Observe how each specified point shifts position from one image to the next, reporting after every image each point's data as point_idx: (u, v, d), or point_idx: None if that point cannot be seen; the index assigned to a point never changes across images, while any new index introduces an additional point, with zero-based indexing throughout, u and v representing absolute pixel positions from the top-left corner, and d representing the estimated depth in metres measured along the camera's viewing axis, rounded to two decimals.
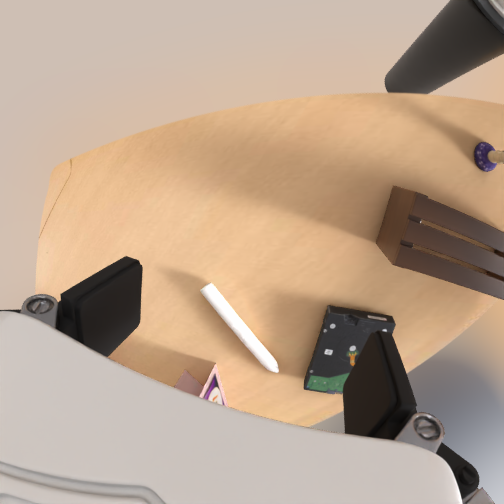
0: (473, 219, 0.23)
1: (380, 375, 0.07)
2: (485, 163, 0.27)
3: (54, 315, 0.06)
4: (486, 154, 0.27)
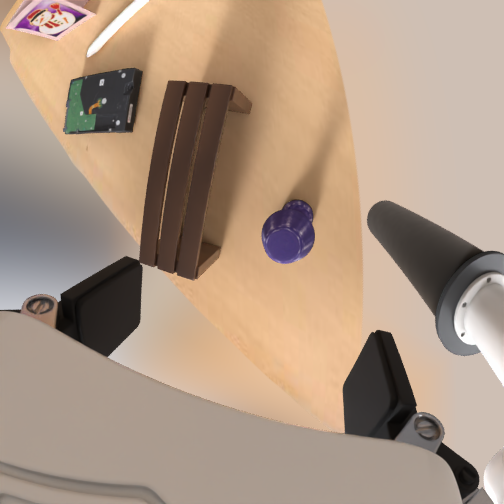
0: (215, 156, 0.28)
1: (380, 375, 0.07)
2: None
3: (54, 315, 0.06)
4: (298, 210, 0.35)
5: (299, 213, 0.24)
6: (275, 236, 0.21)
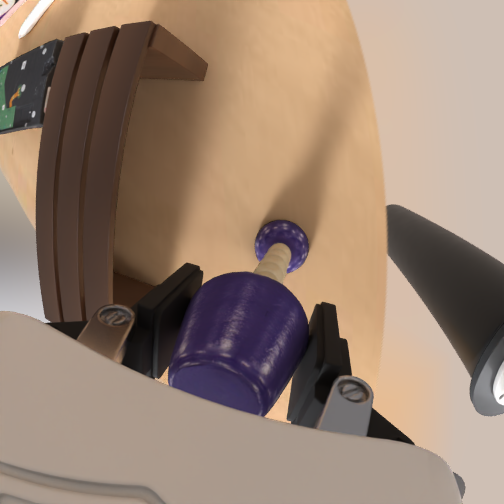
0: (116, 149, 0.13)
1: (314, 340, 0.09)
2: (266, 239, 0.21)
3: (127, 330, 0.07)
4: (282, 240, 0.21)
5: (270, 287, 0.09)
6: (190, 376, 0.07)
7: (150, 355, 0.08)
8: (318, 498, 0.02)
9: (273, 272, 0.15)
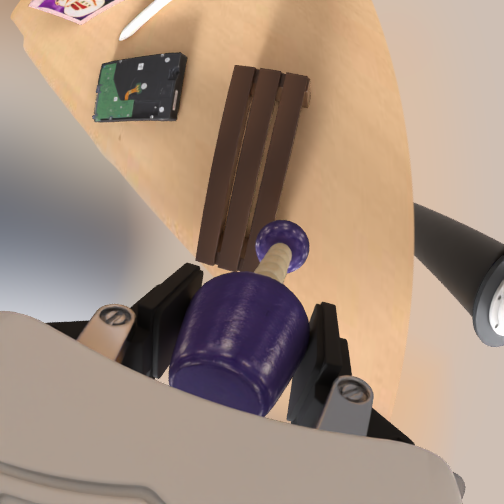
0: (290, 147, 0.27)
1: (314, 340, 0.09)
2: (266, 238, 0.21)
3: (126, 330, 0.07)
4: (283, 240, 0.21)
5: (271, 287, 0.09)
6: (191, 376, 0.07)
7: (150, 355, 0.08)
8: (318, 498, 0.02)
9: (274, 272, 0.15)
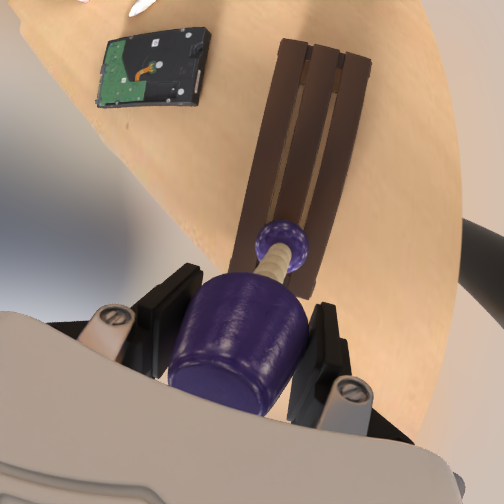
0: (353, 141, 0.21)
1: (314, 340, 0.09)
2: (266, 239, 0.21)
3: (127, 330, 0.07)
4: (282, 240, 0.21)
5: (270, 287, 0.09)
6: (190, 376, 0.07)
7: (150, 355, 0.08)
8: (318, 498, 0.02)
9: (273, 272, 0.15)
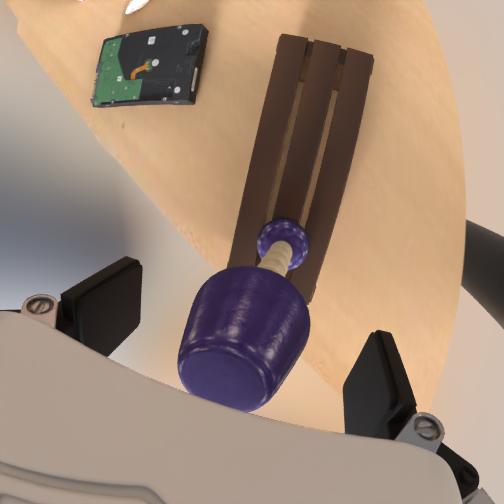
0: (355, 140, 0.20)
1: (380, 375, 0.07)
2: (267, 237, 0.22)
3: (54, 315, 0.06)
4: (283, 238, 0.21)
5: (274, 279, 0.10)
6: (199, 362, 0.07)
7: None
8: (318, 498, 0.02)
9: (275, 268, 0.15)
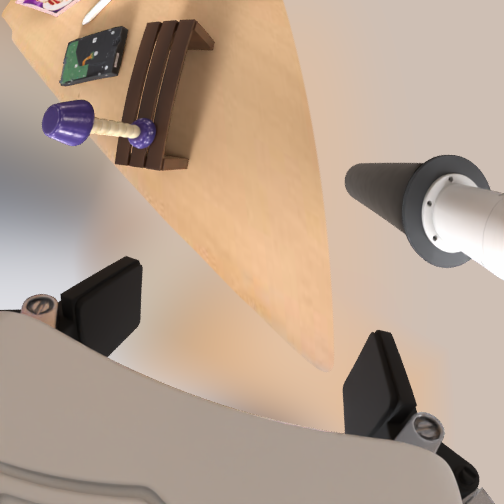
0: (179, 67, 0.30)
1: (380, 375, 0.07)
2: None
3: (54, 315, 0.06)
4: (137, 125, 0.32)
5: (81, 100, 0.20)
6: (46, 114, 0.18)
7: None
8: (318, 498, 0.02)
9: (109, 121, 0.26)
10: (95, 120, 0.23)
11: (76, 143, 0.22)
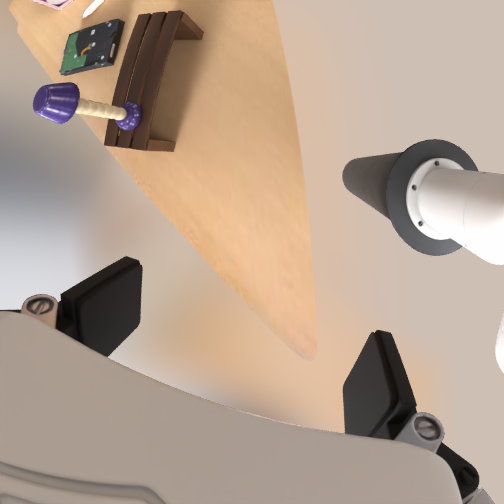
0: (165, 54, 0.31)
1: (380, 375, 0.07)
2: None
3: (54, 315, 0.06)
4: (124, 108, 0.32)
5: (69, 82, 0.21)
6: (37, 94, 0.18)
7: None
8: (318, 498, 0.02)
9: (96, 103, 0.27)
10: (82, 101, 0.24)
11: (62, 120, 0.22)
